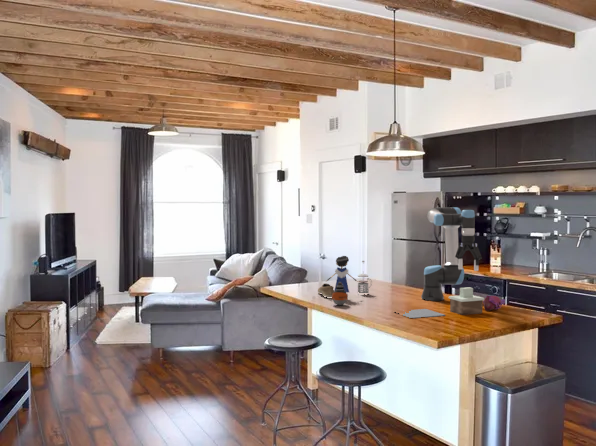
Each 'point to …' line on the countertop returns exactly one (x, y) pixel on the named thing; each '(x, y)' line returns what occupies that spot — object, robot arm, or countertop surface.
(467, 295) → the lid
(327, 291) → the slip on shoe
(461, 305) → the storage box
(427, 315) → the mat
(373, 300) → the countertop surface
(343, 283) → the figurine
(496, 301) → the anatomical model
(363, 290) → the french press
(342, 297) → the grenade
